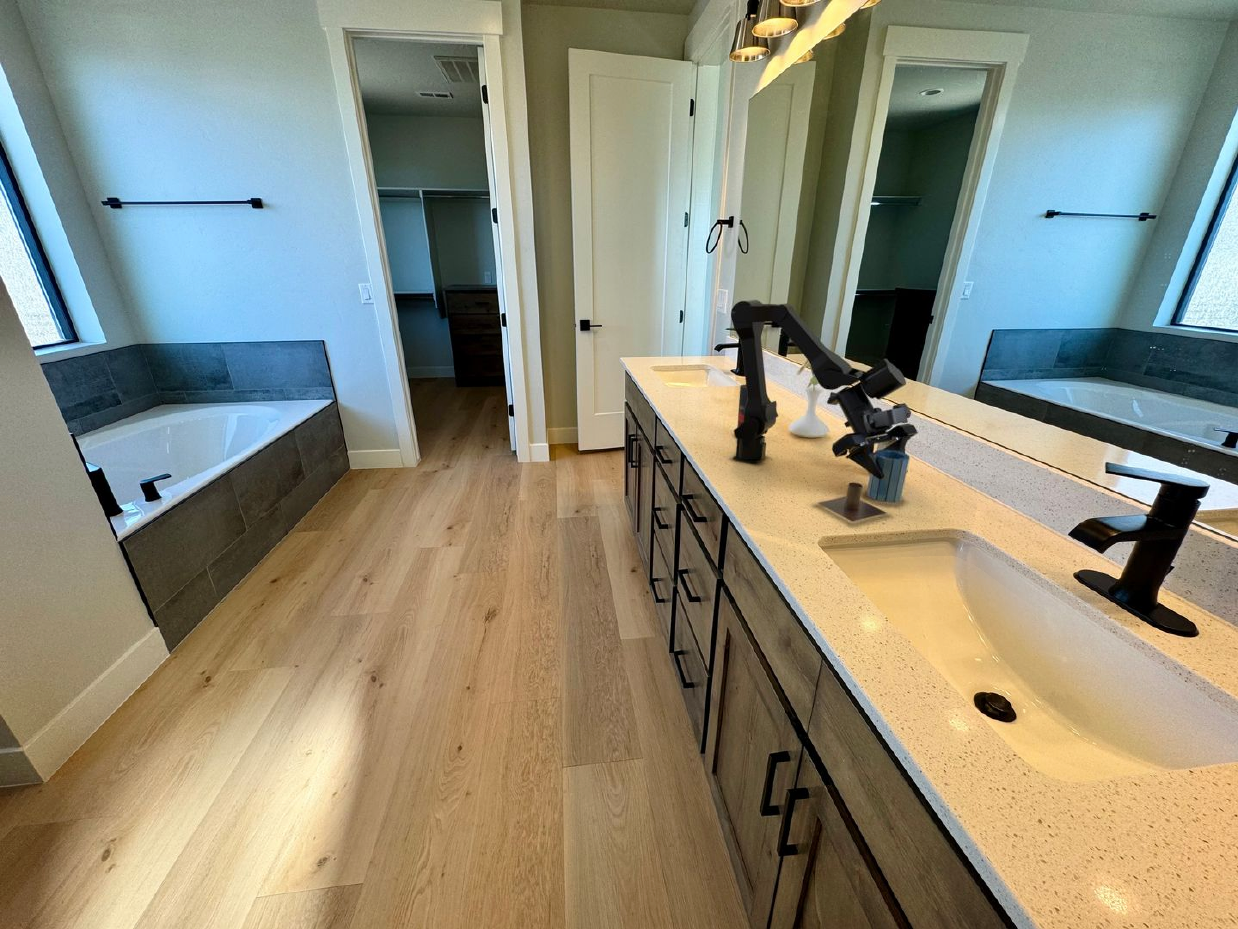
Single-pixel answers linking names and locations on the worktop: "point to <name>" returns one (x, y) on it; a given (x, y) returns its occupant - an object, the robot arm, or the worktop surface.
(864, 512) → the walnut stand
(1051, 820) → the worktop surface
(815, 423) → the flower in vase
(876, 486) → the blue slatted cup
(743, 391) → the deodorant
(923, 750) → the worktop surface
